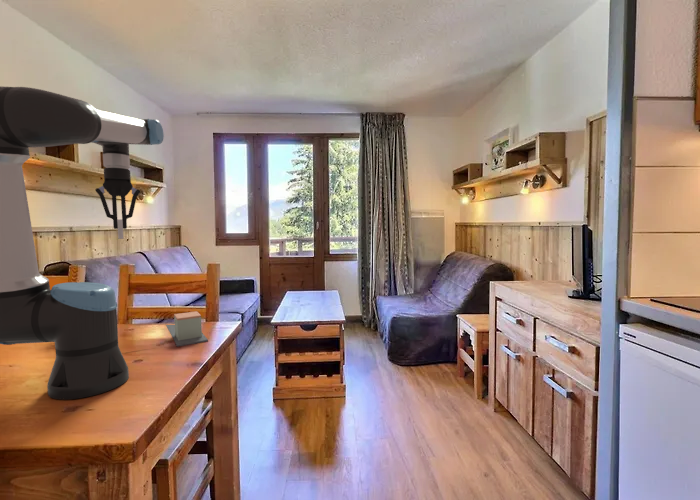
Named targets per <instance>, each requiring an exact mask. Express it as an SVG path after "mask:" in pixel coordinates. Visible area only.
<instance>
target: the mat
mask: <svg viewBox="0 0 700 500" xmlns="http://www.w3.org/2000/svg"><path fill="white" fill-rule="evenodd" d="M173 324H175V322H174V323H173ZM165 326H166V328H167V329H168V332H169V334H170V336H171V337H172V339H173V341H174V343H175V345H176V347H177V348H178V347H182V346H183V347H184V346H188V345H189V346H190V345H194V344H200V343H201V344H202V343H205V342H209V338H207V337H206V335H205V334H204V333H203V332H202V337H197V338H191V339H185V340H179V341H178V339H177V337H176V336H175V325H166V324H165Z"/></svg>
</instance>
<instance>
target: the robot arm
mask: <svg viewBox="0 0 700 500" xmlns="http://www.w3.org/2000/svg"><path fill="white" fill-rule="evenodd" d="M164 135H165V134H164V128H163V126H162V124H161V122H160V121H159V120H158V119H150V118H139V117H138V118H137V117H134V116H129V115H125V114H120V113H115V112H113V111H107V110H104V109H100V108H95V107H94V106H93V105H92V104H91V103H89V102H87V101H84V100H82V99H78V98H74V97H71V96H67V95H64V94H61V93H56V92H52V91H48V90H44V89H39V88H34V87H27V86H2V85H1V86H0V345H5V346H11V345H16V344H17V345H18V344H38V343H39V344H40V343H54V348H55V360H54V363H53V366H52V369H51V372H50V375H49V378H48V381H47V386H46V387H47V396H48V397H49V398H50V399H51V398H52V399H54V400H76V399H82V398H83V399H84V398H88V397H93V396H95V395H100V394H103V393H107V392H109V391H111V390H114V389H116V388H118V387H120V386H122V385H124V384H125V383H126V382H127V381H128V380H129V378H130V374H129V373H130V371H129V366H128V365H127V361H126V360H125V358H124V356H123V353H122V351H121V349H120V346H119V332H118V314H117V312H118V311H117V309H118V308H117V307H118V303H117V298H116V292H115V289H113V287H112V286H110V285H108V284H104V283H99V282H87V281H83V282H82V281H79V282H75V281H72V282H70V281H69V282H62V283H57V284H54V285H53V286H52V287H51V286H50V279H49V278H48V277H46V276H44V275H43V274H41V273H40V270H39V265H38V259H37V254H36V253H37V251H36V246H35V240H34V233H33V226H32V221H31V215H30V214H31V213H30V209H29V203H28V202H29V201H28V196H27V195H28V194H27V190H26V182H25V177H24V169H23V165H24V163H25V162H27V161H28V160H29V159H30V158H31V154H30V149H29V148H46V147H47V148H48V147H56V146H57V147H58V146H66V145H75V144H77V145H78V144H79V145H88V144H91V143H92V144H96V145H98V146H101V148H102V162H103V163H102V164H103V167H104V169H103V179H104V181H103V183H102V185H101V186H100V187H98V188H95V192H96V193H97V195H98V196H99V198H100V201H101V203H102V207H103V210H104V212H105V216H106V217H107V218H110V219H112V221H113V222H112V223H113V225H112V226H113V229H114V230H117V240H123V239H124V230H126V229H127V228H128V224H127V223H128V222H127V219H131V218H132V217H133V215H134V211H135V206H136V202H137V197H138V196H139V194H140V193H141V191H140V190H139V189H137V188H136V187H133V184H132V181H131V180H132V179H131V170H130V168H131V159H130V146H129V145H142V146H143V145H144V146H146V145H147V146H152V145H161V144H162V143H163V142H164V137H165V136H164ZM105 191H106V192H107V193H108V194H109V195H110V196H111V205H112V206H111V207H112V214H111V212H110V210H109V209H110V208H109V206H108V204H107V203H108V202H107V200H106V198H105ZM130 192H131V194H132V197H131V200H130V207H129V210H128V214H127V205H126V196H127V195H128V194H129V193H130ZM117 197H120V205H121V207H120V208H121V219H118V207H117V206H118V205H117V204H118V203H117V202H118V201H117Z"/></svg>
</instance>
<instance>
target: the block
mask: <svg viewBox="0 0 700 500" xmlns="http://www.w3.org/2000/svg"><path fill="white" fill-rule="evenodd" d="M173 319H174V320H173V321H174V323H175V336H176V337H177V339H178V341H179V340H185V339H191V338H197V337H202V333H203V332H202V329H203V327H202V315H201V314H200V313H199V312H198V311H190V312H182V313H174V314H173Z"/></svg>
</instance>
